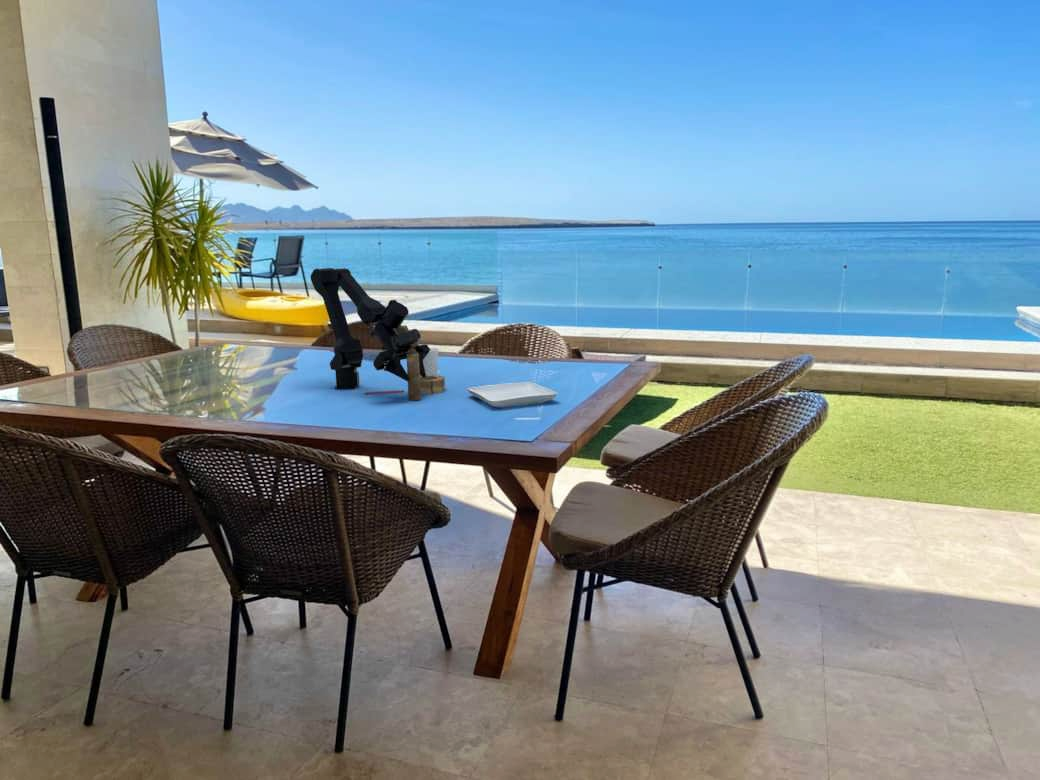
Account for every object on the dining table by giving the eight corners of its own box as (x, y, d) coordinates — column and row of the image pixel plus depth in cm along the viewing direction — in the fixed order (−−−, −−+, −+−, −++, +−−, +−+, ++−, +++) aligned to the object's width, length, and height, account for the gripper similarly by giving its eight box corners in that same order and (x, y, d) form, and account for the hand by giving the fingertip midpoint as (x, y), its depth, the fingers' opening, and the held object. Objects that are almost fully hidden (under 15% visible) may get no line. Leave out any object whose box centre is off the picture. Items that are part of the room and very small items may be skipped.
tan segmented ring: (408, 394, 237) (407, 381, 237) (414, 387, 248) (413, 375, 247) (442, 394, 237) (441, 381, 236) (446, 387, 247) (445, 374, 246)
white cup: (435, 381, 257) (434, 351, 255) (412, 380, 259) (411, 350, 257) (442, 376, 265) (441, 347, 263) (420, 375, 266) (419, 347, 264)
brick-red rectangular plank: (365, 394, 238) (364, 392, 238) (365, 393, 239) (365, 392, 239) (404, 392, 240) (404, 390, 240) (404, 391, 241) (404, 390, 241)
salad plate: (465, 397, 233) (465, 386, 232) (530, 391, 241) (530, 380, 241) (491, 412, 214) (491, 400, 213) (560, 404, 222) (560, 393, 222)
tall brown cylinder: (407, 401, 228) (405, 349, 225) (409, 398, 231) (407, 347, 228) (419, 401, 228) (417, 349, 225) (421, 398, 231) (419, 347, 228)
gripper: (377, 324, 220) (406, 366, 216) (424, 317, 234) (452, 356, 230) (361, 349, 227) (388, 390, 222) (407, 341, 241) (434, 379, 236)
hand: (417, 378), depth 227 cm, fingers open, 6 cm apart
